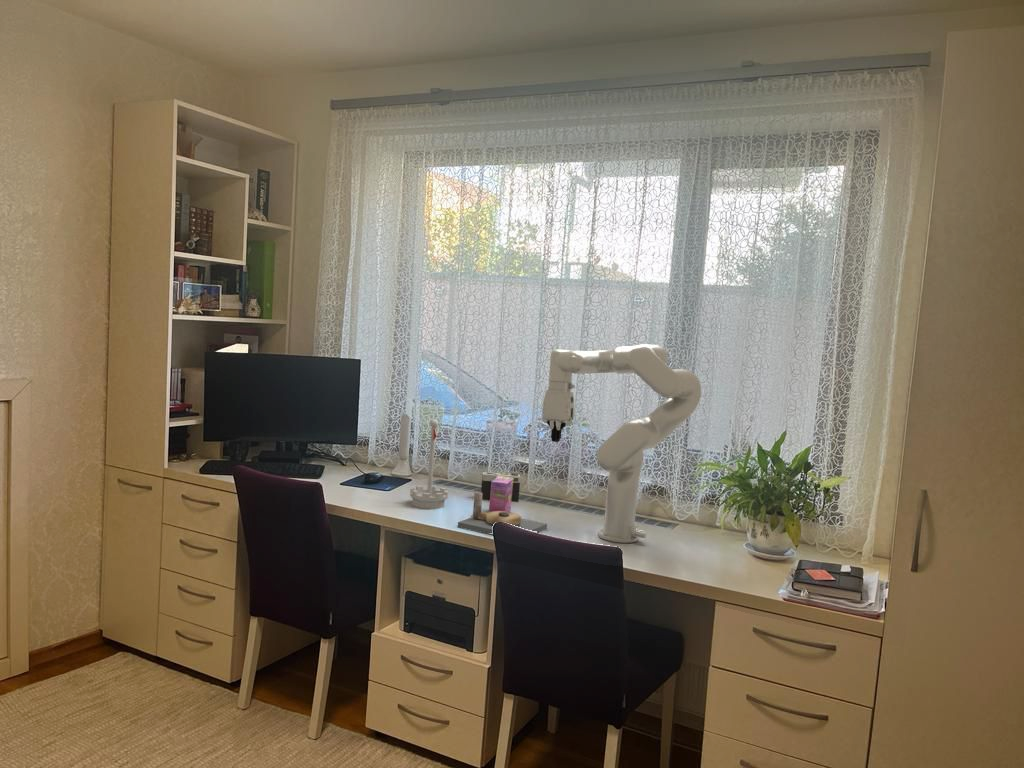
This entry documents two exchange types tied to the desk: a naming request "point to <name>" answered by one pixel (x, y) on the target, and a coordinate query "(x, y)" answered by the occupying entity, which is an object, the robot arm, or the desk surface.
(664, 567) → the desk surface
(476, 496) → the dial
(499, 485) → the box
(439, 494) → the flag stand
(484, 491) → the camera
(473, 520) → the board
